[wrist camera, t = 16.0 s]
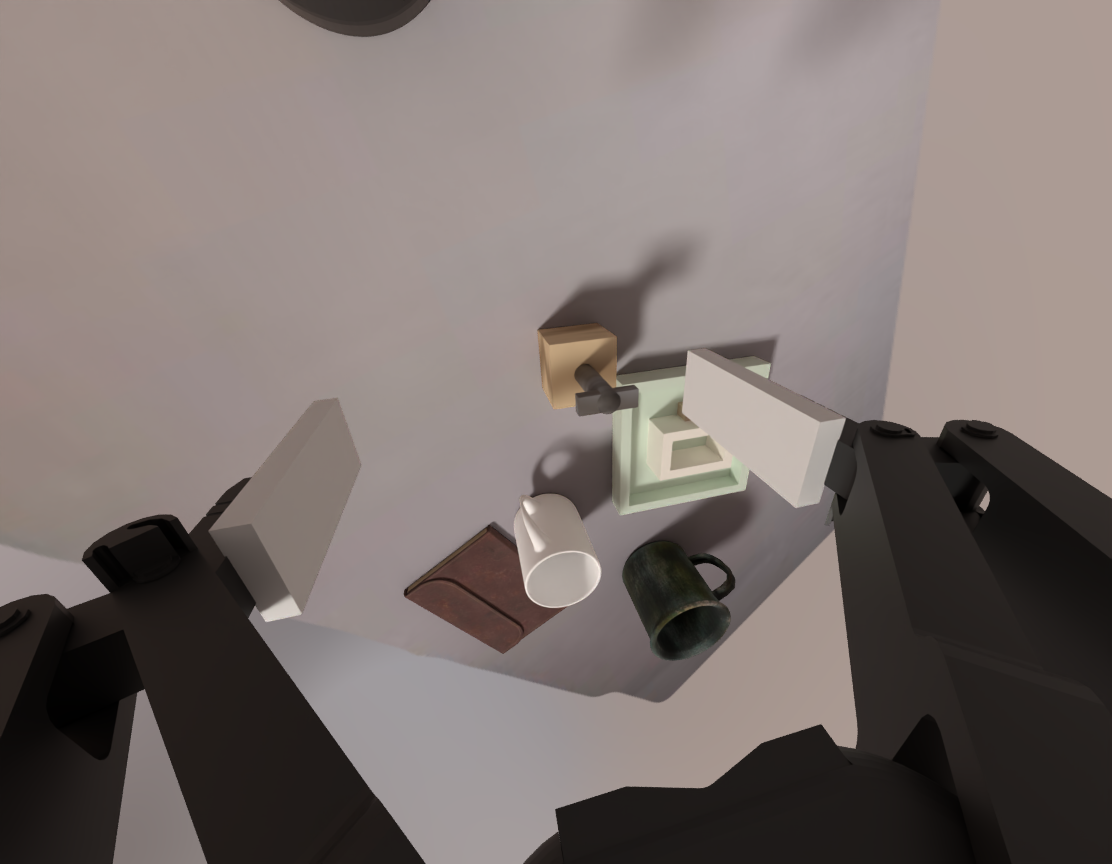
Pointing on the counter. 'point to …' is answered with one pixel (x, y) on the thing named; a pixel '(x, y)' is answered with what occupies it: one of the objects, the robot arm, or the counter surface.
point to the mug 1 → (554, 551)
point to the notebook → (482, 592)
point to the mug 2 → (677, 599)
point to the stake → (583, 370)
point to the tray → (630, 436)
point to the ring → (682, 460)
